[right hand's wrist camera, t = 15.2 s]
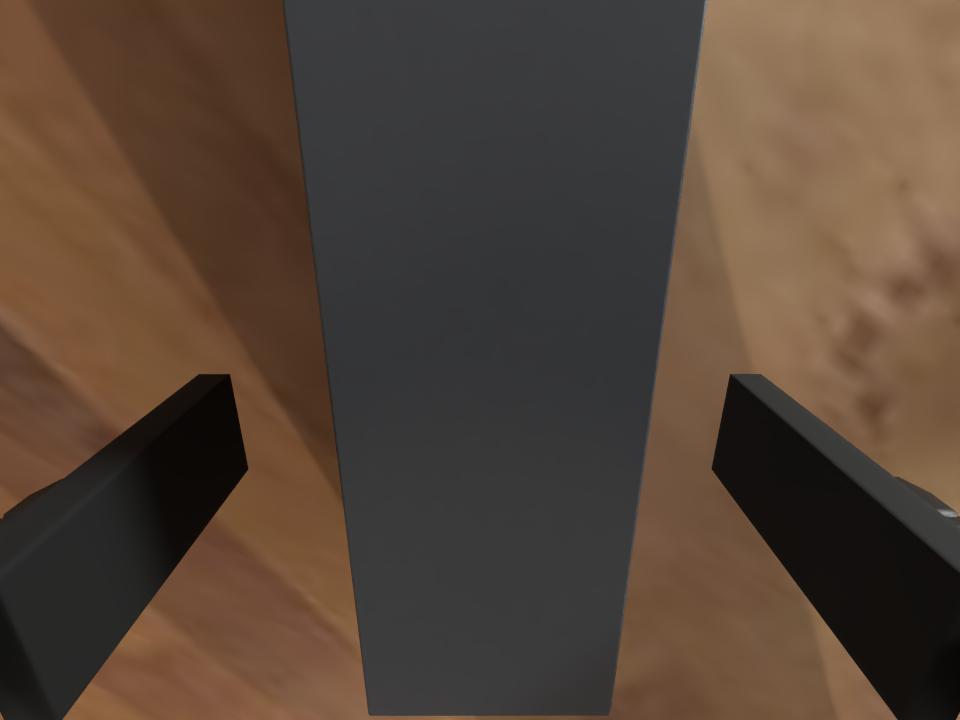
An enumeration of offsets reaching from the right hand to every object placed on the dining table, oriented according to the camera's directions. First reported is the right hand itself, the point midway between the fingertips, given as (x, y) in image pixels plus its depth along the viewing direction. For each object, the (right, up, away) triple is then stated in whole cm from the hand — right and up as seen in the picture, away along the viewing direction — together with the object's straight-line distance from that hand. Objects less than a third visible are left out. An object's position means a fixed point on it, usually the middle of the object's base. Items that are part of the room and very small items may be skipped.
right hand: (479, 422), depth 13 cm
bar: (0, +27, -7) cm, 28 cm away
